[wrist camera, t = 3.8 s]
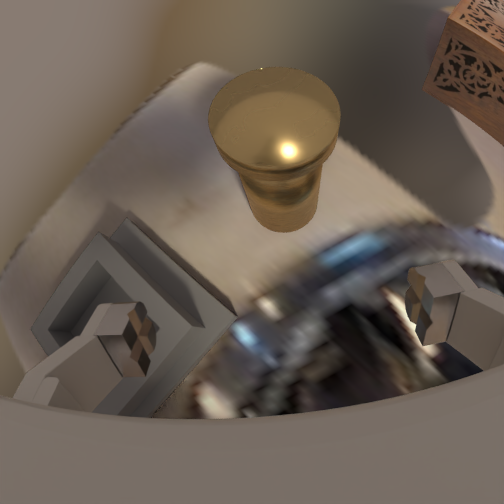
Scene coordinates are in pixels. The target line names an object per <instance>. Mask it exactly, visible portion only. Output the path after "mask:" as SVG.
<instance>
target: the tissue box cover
mask: <svg viewBox="0 0 504 504" xmlns="http://www.w3.org/2000/svg"><path fill="white" fill-rule="evenodd" d="M422 90H423V91H425V92H426V93H428V94H429V95H431V96H433V97H434V98H436V99H438V100H439V101H440V102H442V103H443V104H445V105H447V106H448V107H449V108H451V107H453V108H454V109H455V110H457V111H458V112H460V113H461V114H463V115H464V116H465V117H467V118H468V119H470V120H471V121H472V122H474V123H475V124H476V125H478V126H479V127H480V128H482V129H483V130H484V131H485V132H487V133H488V134H489V135H491V136H492V137H493V138H494V139H495V140H497V141H498V142H499V143H500V144H502V145H503V146H504V1H503V0H461V1H460V2H459V3H458V5H457V6H456V7H455V9H454V10H453V11H452V13H451V14H450V15H449V17H448V19H447V22H446V25H445V28H444V31H443V34H442V36H441V39H440V42H439V45H438V48H437V51H436V53H435V56H434V59H433V61H432V64H431V67H430V69H429V72H428V75H427V77H426V80H425V82H424V85H423V88H422ZM450 106H451V107H450Z"/></svg>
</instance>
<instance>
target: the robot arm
mask: <svg viewBox="0 0 504 504" xmlns="http://www.w3.org/2000/svg"><path fill="white" fill-rule="evenodd" d="M407 280H408V281H409V283H410V285H411V286H410V287H409V288H408V290H407V291H406V295H405V307H406V312H407V315H408V317H409V320H410V321H411V322H413V323H414V324H416V329H415V332H416V334H417V336H418V338H419V340H420V342H421V344H422V346H426V345H431V344H435V343H440V342H444V341H447V343H448V344H450V345H451V346H452V347H454V348H455V349H456V350H458V351H459V352H460V353H462V354H463V355H464V356H466V357H467V358H468V359H470V360H471V361H472V362H473V363H475V364H476V365H477V366H479V367H480V368H481V369H483V370H484V371H483V372H481V373H478V374H475V375H472V376H469V377H466V378H463V379H460V380H457V381H453V382H450V383H447V384H443V385H440V386H437V387H433V388H429V389H426V390H422V391H418V392H414V393H410V394H406V395H402V396H398V397H393V398H389V399H384V400H380V401H375V402H370V403H365V404H359V405H354V406H348V407H342V408H336V409H329V410H322V411H315V412H307V413H299V414H289V415H279V416H267V417H253V418H233V419H164V418H144V417H130V416H118V415H108V414H99V413H91V412H92V411H93V410H94V409H95V408H96V407H97V406H98V405H99V403H100V402H101V401H102V400H103V399H104V398H105V397H106V396H107V395H108V394H109V393H110V392H111V390H112V389H113V388H114V387H115V386H116V385H117V384H118V383H119V382H120V381H121V380H122V379H123V378H122V377H146V375H147V371H148V368H149V365H150V362H151V360H150V358H149V357H148V356H149V355H150V354H151V353H152V352H153V351H154V350H155V347H156V331H155V327H154V325H153V323H152V322H151V321H150V320H148V319H147V318H146V314H147V310H146V307H145V305H144V303H142V302H140V301H136V302H119V303H104V304H100V305H98V306H97V308H96V309H95V311H94V313H93V314H92V316H91V318H90V320H89V321H88V323H87V325H86V326H85V328H84V330H83V332H82V333H81V335H80V336H76V337H75V338H73V339H72V340H70V341H69V342H68V343H66V344H65V345H64V346H62V347H61V348H59V349H58V350H57V351H55V352H54V353H53V354H51V355H50V356H49V357H47V358H46V359H44V360H43V361H42V362H40V363H39V364H38V365H36V366H35V367H34V368H32V369H31V370H30V371H28V372H27V373H26V375H25V376H24V378H23V380H22V382H21V384H20V385H19V387H18V389H17V391H16V393H15V395H14V396H13V398H9V397H5V396H2V395H0V504H504V298H503V297H501V296H499V295H497V294H495V293H493V292H490V291H488V290H486V289H484V288H479V289H478V287H477V286H476V285H475V284H474V283H473V281H472V280H471V279H470V278H469V276H468V275H467V274H466V273H465V272H464V270H463V269H462V268H461V267H460V266H459V265H458V263H457V262H456V261H454V260H448V261H443V262H439V263H435V264H430V265H424V266H419V267H413V268H410V270H409V272H408V279H407Z"/></svg>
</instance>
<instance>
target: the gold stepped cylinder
mask: <svg viewBox="0 0 504 504" xmlns="http://www.w3.org/2000/svg"><path fill="white" fill-rule="evenodd" d="M208 123H209V129H210V132H211V134H212V137H213V139H214V142H215V144H216V146H217V149H218V151H219V153H220V155H221V156H222V158H223V159H224V161H225V162H226V163H227V164H228V165H229V166H230V167H232V168H233V169H234V170H236V171H237V172H238V173H239V175H240V178H241V181H242V184H243V187H244V190H245V192H246V195H247V198H248V201H249V204H250V207H251V209H252V212H253V215H254V217H255V218H256V220H257V221H258V222H259V223H260V224H261V225H262V226H264V227H265V228H267V229H269V230H272V231H275V232H283V233H284V232H292V231H296V230H298V229H300V228H302V227H304V226H305V225H306V224H308V223H309V221H310V220H311V219H312V218H313V216H314V214H315V212H316V209H317V203H318V195H319V188H320V180H321V172H322V164H323V163H324V162H325V161H326V160H327V159H328V157H329V156H330V155H331V153H332V151H333V149H334V148H335V145H336V141H337V136H338V130H339V123H340V107H339V103H338V101H337V99H336V97H335V95H334V93H333V92H332V91H331V89H330V88H329V87H328V86H327V85H326V84H325V83H324V82H322V81H321V80H320V79H318V78H317V77H315V76H313V75H311V74H309V73H307V72H304V71H301V70H298V69H293V68H287V67H267V68H261V69H256V70H252V71H250V72H247V73H244V74H242V75H240V76H238V77H236V78H234V79H233V80H231V81H230V82H229V83H227V84H226V85H225V86H224V87H223V88H222V89H221V90H220V91H219V92H218V93H217V95H216V96H215V98H214V100H213V101H212V104H211V106H210V110H209V115H208Z"/></svg>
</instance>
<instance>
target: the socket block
mask: <svg viewBox="0 0 504 504" xmlns="http://www.w3.org/2000/svg"><path fill="white" fill-rule="evenodd" d="M136 301H140V302H142V303H144V305H145V307H146V310H147V314H146V318H147V319H148V320H150V321H151V322H152V323H153V325H154V327H155V331H156V347H155V350H154V351H153V352H152V353H151V354H150V355H149V356H148V357H149V358H150V360H151V362H150V365H149V368H148V371H147V375H146V377H122V378H123V379H122V380H121V381H120V382H119V383H118V384H117V385H116V386H115V387H114V388H113V389H112V390H111V392H110V393H109V394H108V395H107V396H106V397H105V398H104V399H103V400H102V401H101V402H100V403H99V405H98V406H97V407H96V408H95V409H94V410H93V411H92V412H91V413H99V414H108V415H118V416H130V417H144V418H150V417H151V416H152V415H153V414H154V412H155V411H156V410H157V409H158V408H159V407H160V406H161V405H162V404H163V402H164V401H165V400H166V399H167V398H168V397H169V396H170V395H171V393H172V392H173V391H174V390H175V389H176V388H177V387H178V386H179V384H180V383H181V382H182V381H183V380H184V379H185V378H186V376H187V375H188V374H189V373H190V372H191V371H192V370H193V368H194V367H195V366H196V365H197V364H198V363H199V362H200V360H201V359H202V358H203V357H204V356H205V355H206V353H207V352H208V351H209V350H210V349H211V348H212V346H213V345H214V344H215V343H216V342H217V341H218V339H219V338H220V337H221V336H222V335H223V334H224V332H225V331H226V330H227V329H228V328H229V327H230V325H231V324H232V323H233V322H234V321H235V320H236V318H237V316H236V315H235V314H234V313H233V312H232V311H230V310H229V309H228V308H227V307H226V306H225V305H223V304H222V303H221V302H220V301H219V300H218V299H217V298H215V297H214V296H213V295H212V294H211V293H210V292H209V291H207V290H206V289H205V288H204V287H203V286H202V285H201V284H199V283H198V282H197V281H196V280H195V279H194V278H193V277H192V276H190V275H189V274H188V273H187V272H186V271H185V270H184V269H183V268H182V267H180V266H179V265H178V264H177V263H176V262H175V261H174V260H173V259H172V258H171V257H170V256H168V255H167V254H166V253H165V252H164V251H163V250H162V249H161V248H160V247H159V246H158V245H157V244H155V243H154V242H153V241H152V240H151V239H150V238H149V237H148V236H147V235H146V234H145V233H144V232H143V231H142V230H141V229H139V228H138V227H137V226H136V225H135V224H134V223H133V222H132V221H131V220H129V219H128V218H126V219H125V220H124V221H123V223H122V224H121V225H120V226H119V227H118V229H117V230H116V231H115V232H114V234H113V235H112V236H111V237H110V238H108V237H107V236H105V235H103V234H102V233H100V232H98V233H97V234H96V236H95V237H94V238H93V240H92V241H91V242H90V243H89V245H88V246H87V247H86V249H85V250H84V251H83V253H82V254H81V255H80V257H79V258H78V259H77V261H76V262H75V263H74V265H73V266H72V268H71V269H70V270H69V272H68V273H67V275H66V276H65V277H64V279H63V280H62V282H61V283H60V285H59V286H58V287H57V289H56V290H55V292H54V293H53V295H52V296H51V298H50V299H49V301H48V302H47V304H46V305H45V307H44V308H43V310H42V311H41V313H40V315H39V316H38V318H37V319H36V321H35V322H34V324H33V326H32V327H31V331H32V333H33V334H34V336H35V337H36V339H37V340H38V342H39V343H40V345H41V347H42V348H43V350H44V351H45V353H46V354H47V355H48V357H49V356H50V355H51V354H53V353H54V352H55V351H57V350H58V349H59V348H61V347H62V346H64V345H65V344H66V343H68V342H69V341H70V340H72V339H73V338H75V337H76V336H80V335H81V333H82V332H83V330H84V328H85V326H86V325H87V323H88V321H89V320H90V318H91V316H92V314H93V313H94V311H95V309H96V308H97V306H98V305H100V304H104V303H119V302H136Z"/></svg>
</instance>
